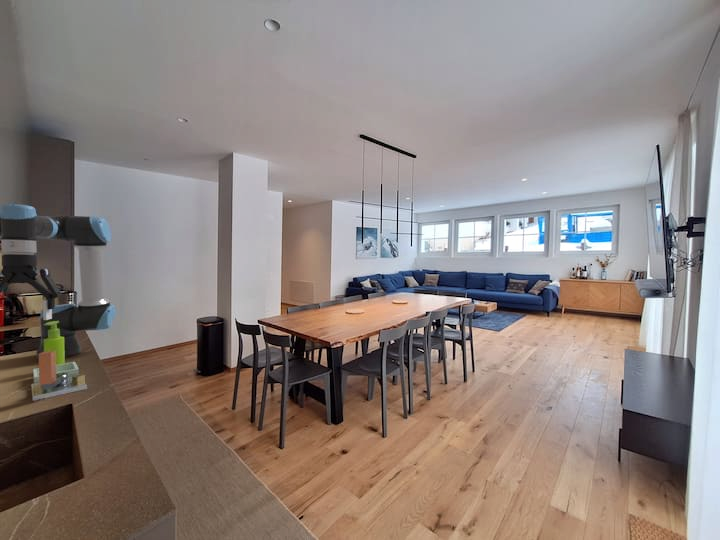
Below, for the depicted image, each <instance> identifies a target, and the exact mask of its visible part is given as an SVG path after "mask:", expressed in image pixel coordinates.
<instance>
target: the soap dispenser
mask: <svg viewBox="0 0 720 540" xmlns="http://www.w3.org/2000/svg"><path fill="white" fill-rule="evenodd" d="M57 323H59V321H51V322H48V323H46V324H44V325H51V329H50V330H48V338H46V339H44V352H45V351H56V365H59V364H65V363H66V357H65V347H64V337H60V329H58V328H57Z"/></svg>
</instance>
